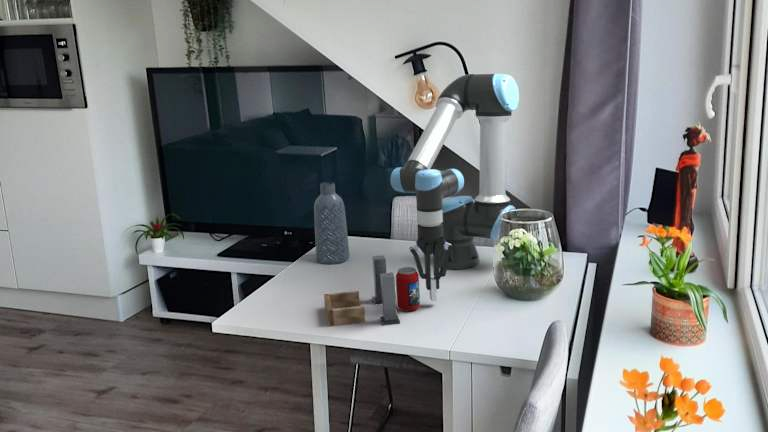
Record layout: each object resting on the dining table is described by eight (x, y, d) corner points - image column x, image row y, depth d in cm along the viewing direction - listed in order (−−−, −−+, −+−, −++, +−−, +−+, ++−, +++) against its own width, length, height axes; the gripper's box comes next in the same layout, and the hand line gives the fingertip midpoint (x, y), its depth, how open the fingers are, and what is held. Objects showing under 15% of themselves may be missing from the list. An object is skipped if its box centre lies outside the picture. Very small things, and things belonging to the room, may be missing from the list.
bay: (359, 304, 232) (358, 290, 231) (365, 322, 218) (364, 307, 217) (325, 308, 231) (323, 294, 230) (328, 326, 217) (327, 311, 216)
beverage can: (418, 312, 223) (416, 274, 220) (395, 312, 224) (393, 273, 221) (421, 304, 229) (420, 266, 226) (399, 303, 231) (397, 266, 228)
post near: (397, 317, 221) (394, 271, 217) (400, 323, 216) (397, 276, 213) (380, 318, 220) (377, 273, 217) (382, 325, 215) (379, 278, 212)
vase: (355, 259, 275) (350, 183, 268) (325, 267, 269) (319, 189, 262) (340, 252, 285) (334, 178, 278) (310, 258, 280) (304, 183, 272)
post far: (388, 297, 237) (385, 254, 233) (390, 303, 232) (388, 259, 228) (372, 299, 236) (369, 256, 233) (374, 304, 231) (371, 260, 228)
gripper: (448, 218, 226) (451, 292, 232) (405, 222, 224) (409, 297, 230) (455, 224, 219) (457, 301, 225) (410, 228, 217) (414, 306, 223)
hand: (433, 299), depth 227 cm, fingers closed
